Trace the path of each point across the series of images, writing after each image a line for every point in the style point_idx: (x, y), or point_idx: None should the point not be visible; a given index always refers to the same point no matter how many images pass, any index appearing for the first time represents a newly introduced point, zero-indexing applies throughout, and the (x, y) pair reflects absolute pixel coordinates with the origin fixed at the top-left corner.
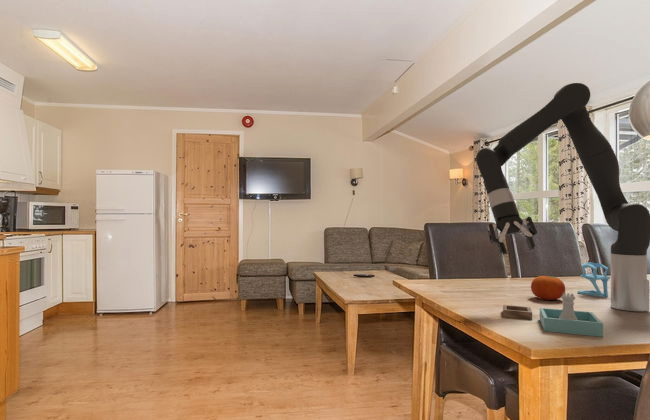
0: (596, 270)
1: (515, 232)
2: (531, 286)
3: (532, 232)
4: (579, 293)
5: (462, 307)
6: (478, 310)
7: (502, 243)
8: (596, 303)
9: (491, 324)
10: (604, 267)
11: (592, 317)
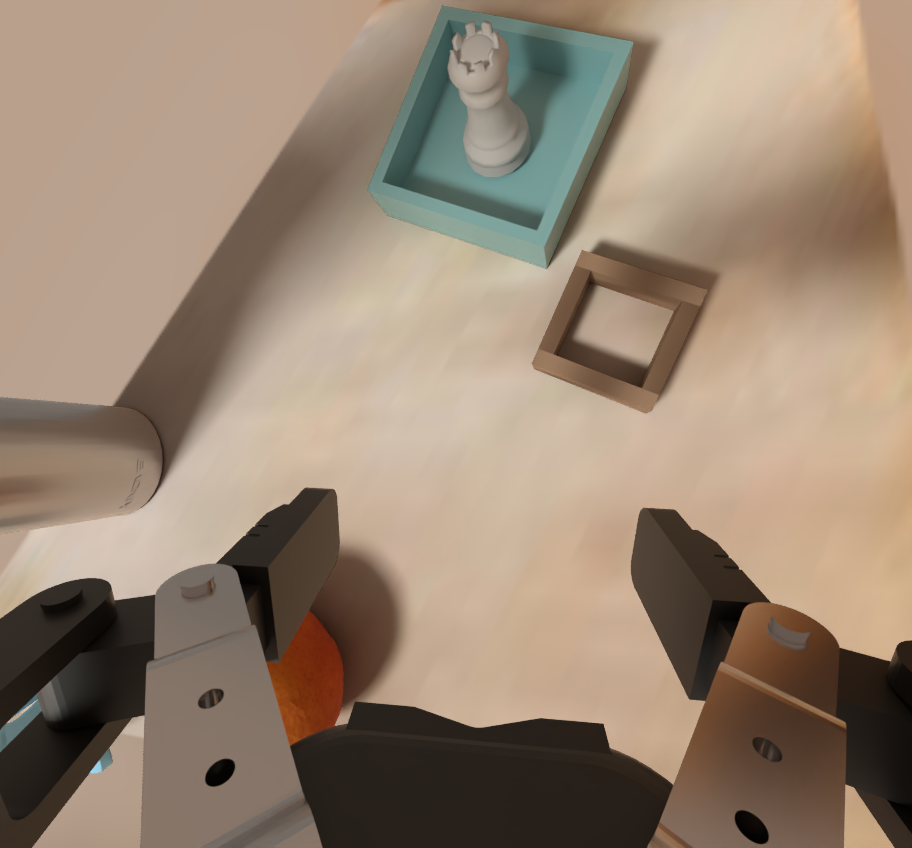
0: None
1: (423, 714)
2: (331, 722)
3: (97, 640)
4: (109, 752)
5: (851, 504)
6: (776, 431)
7: (732, 588)
8: (165, 555)
9: (825, 155)
10: None
11: (410, 122)
